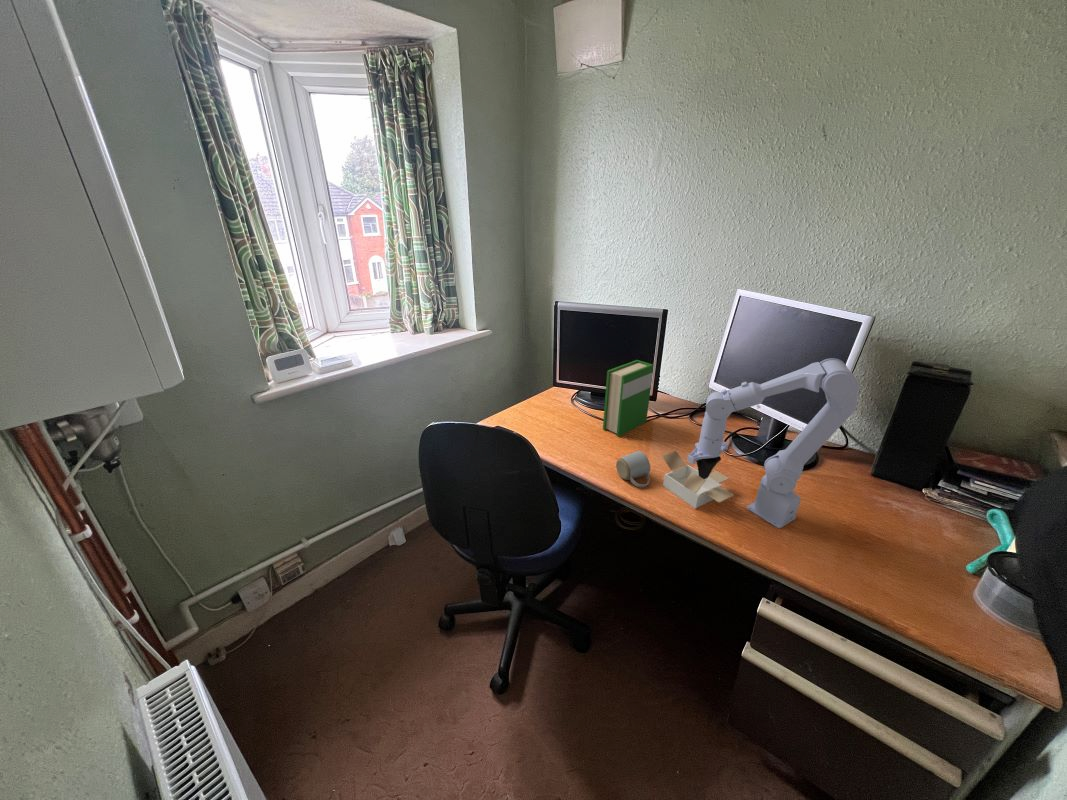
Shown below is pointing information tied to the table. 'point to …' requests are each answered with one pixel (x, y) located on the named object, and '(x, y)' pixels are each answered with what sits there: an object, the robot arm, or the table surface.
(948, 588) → the table surface
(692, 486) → the left flap
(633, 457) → the ceramic mug
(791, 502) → the robot arm
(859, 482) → the table surface
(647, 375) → the hardback book
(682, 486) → the carton
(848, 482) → the table surface
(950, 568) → the table surface
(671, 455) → the far flap
